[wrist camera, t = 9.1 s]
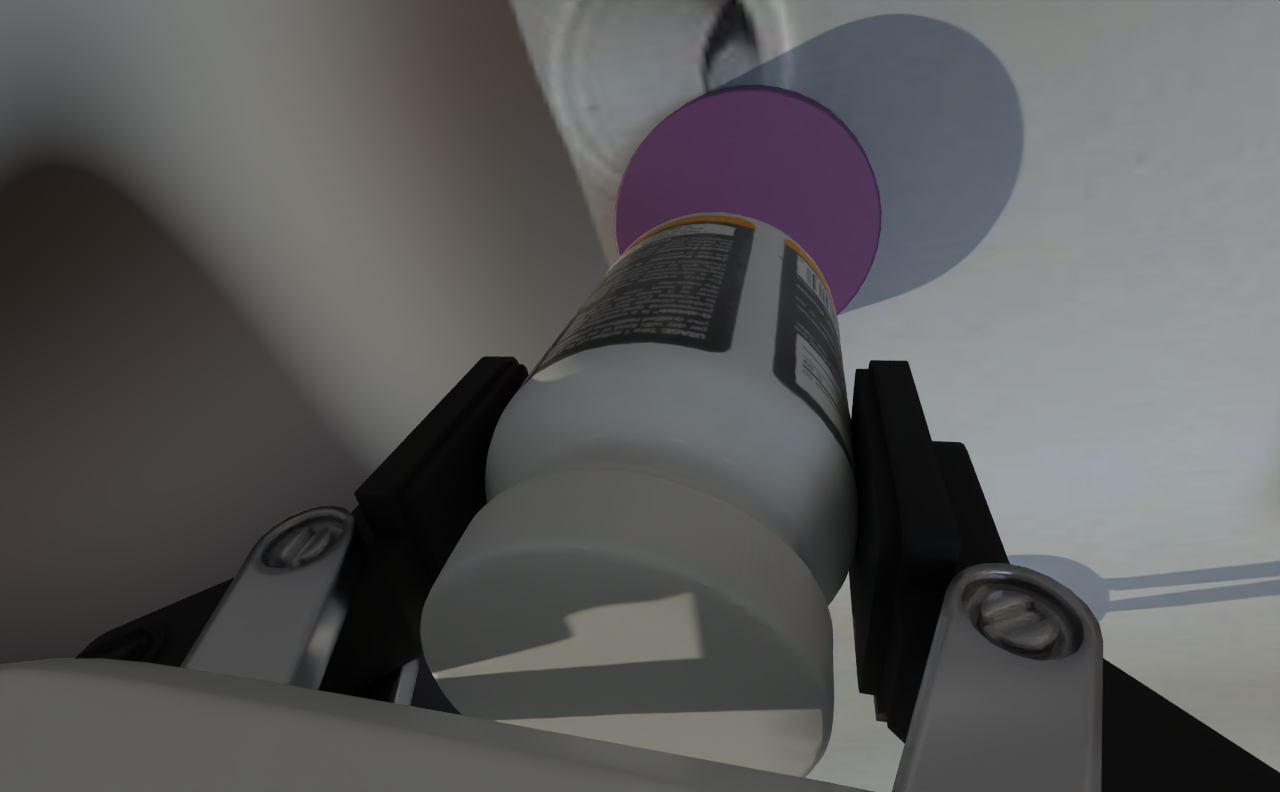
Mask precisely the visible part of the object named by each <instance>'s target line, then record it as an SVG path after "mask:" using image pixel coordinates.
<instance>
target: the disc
mask: <svg viewBox="0 0 1280 792" xmlns="http://www.w3.org/2000/svg"><path fill="white" fill-rule="evenodd" d="M711 212H725V213H731V214H738V215H742V216H746V217H750V218H754V219H757V220H759V221H762V222H765V223H767V224H769V225H771V226H773V227H775V228H777V229H779V230H780V231H782V232H784V233H785V234H786V235H788V236H789V237H790V238H791V239H792V240H794V241H795V242H796V243H797V244H799V245H800V246H801V247H802V249H803V250H804V251H805V252H806V253H807V254H808V255H809V256H810V257H811V258H812V259H813V261H814V262H815V263H816V265H817V266H818V268H819V269H820V271H821V272H822V274H823V276H824V278H825V280H826V282H827V285H828V287H829V289H830V292H831V295H832V298H833V302H834V305H835V308H836V314H837V315H838V314H839V313H840V312H841V311H842V310H843V309H844V308H845V307H846V306H847V305H848V303H849V302H850V301H851V300H852V299H853V297H854V296H855V295H856V293H857V292H858V290H859V289H860V287H861V285H862V284H863V282H864V281H865V279H866V277H867V275H868V272H869V270H870V268H871V266H872V264H873V261H874V257H875V254H876V251H877V248H878V243H879V237H880V231H881V204H880V195H879V190H878V186H877V182H876V179H875V175H874V172H873V170H872V168H871V165H870V163H869V161H868V158H867V156H866V154H865V152H864V150H863V148H862V147H861V145H860V144H859V142H858V140H857V139H856V137H855V136H854V134H853V133H852V132H851V131H850V130H849V128H848V127H847V126H846V125H845V124H844V123H843V121H841V120H840V119H839V118H838V117H837V116H836V115H834V114H833V113H832V112H831V111H830V110H829V109H827V108H825V107H824V106H822V105H821V104H819V103H818V102H816V101H814V100H813V99H810V98H808V97H806V96H804V95H801V94H799V93H797V92H794V91H790V90H786V89H783V88H779V87H772V86H763V85H745V86H735V87H730V88H724V89H720V90H717V91H714V92H711V93H708V94H705V95H703V96H700V97H698V98H696V99H694V100H692V101H690V102H688V103H687V104H685V105H684V106H682V107H681V108H679V109H678V110H676V111H675V112H673V113H672V114H670V115H669V116H668V117H666V118H665V119H664V120H663V121H662V122H661V123H660V124H659V125H657V126H656V127H655V128H654V129H653V130H652V131H651V132H650V134H649V135H648V136H647V137H646V138H645V139H644V141H643V142H642V143H641V144H640V146H639V147H638V149H637V150H636V152H635V153H634V155H633V157H632V158H631V160H630V162H629V164H628V166H627V168H626V171H625V173H624V175H623V178H622V181H621V184H620V187H619V190H618V195H617V201H616V206H615V220H614V227H615V241H616V246H617V251H618V256H619V257H620V256H621V255H622V254H623V253H624V251H625V250H626V249H627V248H628V247H629V246H630V245H631V244H632V243H633V242H635V241H636V240H637V239H638V238H639V237H641V236H642V235H644V234H645V233H647V232H648V231H650V230H651V229H653V228H654V227H656V226H658V225H660V224H662V223H665V222H667V221H669V220H671V219H674V218H678V217H681V216H686V215H690V214H696V213H711Z"/></svg>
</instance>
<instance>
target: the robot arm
mask: <svg viewBox="0 0 1280 792" xmlns="http://www.w3.org/2000/svg"><path fill="white" fill-rule="evenodd" d="M528 376H529V375H528V371H527V368H526V367H525V366H524V365H523V364H519V363H518V361H517V360H516V359H515V358H514V357H483V358H481V359H480V360H479V361H478V362H477V364H475V366H474V367H473V368H472V369H471V370H470V371H469V372H468V373H467V374H466V375H465V376H464V377H463V378H462V379H461V380H460V381H459V382H458V384H457V385H456V386H455V387H454V388H453V389H452V390H451V391H450V392H449V393H448V394H447V395H446V396H445V397H444V398H443V399H442V400H441V402H440V403H439V404H438V405H437V406H436V407H435V408H434V409H433V410H432V411H431V412H430V413H429V414H428V415H427V416H426V417H425V419H424V420H423V421H422V422H421V423H420V424H419V425H418V426H417V427H416V428H415V429H414V430H413V431H412V432H411V433H410V434H409V435H408V436H407V437H406V439H405V440H404V441H403V442H402V443H401V444H400V445H399V446H398V447H397V448H396V449H395V451H393V452H392V454H391V455H389V457H388V458H387V459H386V460H385V461H384V462H383V463H382V464H381V465H380V466H379V467H378V468H377V469H376V470H375V472H374V473H372V475H371V476H370V477H369V478H368V479H367V480H366V481H365V482H364V483H363V484H362V485H361V486H360V487H359V488H358V489H357V490H356V491H355V493H354V494H355V496H356V499H357V501H358V503H359V505H358V506H357V507H356V508H355V509H354V510H353V512H352V513H350V512H349V511H348V510H346V509H345V508H342V507H337V506H321V507H317V508H312V509H309V510H305V511H302V512H300V513H298V514H295V515H293V516H290V517H288V518H286V519H285V520H283V521H281V522H280V523H278V524H276V525H275V526H273V527H272V528H271V529H270V530H269V531H268V532H266V533H265V534H264V535H263V536H262V537H261V538H260V539H259V540H258V542H257V543H256V544H255V545H254V547H253V548H252V550H251V551H250V553H249V555H248V556H247V558H246V560H245V561H244V563H243V564H242V566H241V568H240V570H239V571H238V573H237V574H236V576H235V578H232V579H230V580H227V581H226V582H223V583H220V584H218V585H216V586H213V587H211V588H209V589H206V590H204V591H202V592H199V593H197V594H195V595H192V596H190V597H187V598H185V599H183V600H180V601H178V602H176V603H173V604H171V605H169V606H166V607H164V608H162V609H159V610H157V611H155V612H152V613H150V614H147V615H145V616H143V617H140V618H138V619H136V620H133V621H131V622H129V623H126V624H124V625H122V626H121V627H117V628H115V629H112V630H110V631H108V632H106V633H104V634H103V635H101V636H99V637H98V638H97V639H95V640H94V641H93V642H91V643H90V644H89V645H88V646H87V647H86V648H85V649H84V650H83V651H82V652H81V653H80V654H79V655H78V656H77V657H76V658H74V659H48V660H38V661H30V662H29V661H28V662H19V663H10V664H1V665H0V792H873V791H868V790H863V789H858V788H853V787H848V786H843V785H838V784H834V783H829V782H823V781H818V780H813V779H807V778H802V777H796V776H791V775H785V774H780V773H775V772H769V771H764V770H758V769H753V768H748V767H742V766H737V765H731V764H726V763H721V762H715V761H710V760H704V759H699V758H693V757H688V756H683V755H677V754H672V753H666V752H661V751H656V750H650V749H645V748H639V747H634V746H629V745H623V744H618V743H612V742H607V741H601V740H596V739H590V738H585V737H579V736H574V735H568V734H562V733H557V732H551V731H546V730H540V729H535V728H529V727H524V726H518V725H512V724H507V723H501V722H496V721H490V720H485V719H479V718H473V717H468V716H462V715H457V714H451V713H445V712H439V711H434V710H429V709H423V708H417V707H412V706H410V703H411V699H412V694H413V690H414V685H415V681H416V676H417V672H418V667H419V657H420V656H422V655H423V653H424V652H423V647H422V643H421V634H420V628H421V617H422V612H423V607H424V604H425V602H426V599H427V597H428V595H429V592H430V590H431V588H432V586H433V585H434V583H435V581H436V579H437V578H438V576H439V574H440V573H441V571H442V569H443V567H444V566H445V564H446V562H447V560H448V559H449V557H450V555H451V554H452V552H453V550H454V549H455V547H456V545H457V544H458V542H459V540H460V539H461V537H462V535H463V534H464V532H465V530H466V529H467V527H468V525H469V524H470V522H471V521H472V519H473V518H474V517H475V515H476V514H477V513H478V512H479V511H480V510H481V509H482V508H483V507H484V506H485V505H486V504H487V502H486V492H485V470H486V462H487V456H488V450H489V446H490V443H491V440H492V437H493V434H494V431H495V428H496V426H497V423H498V421H499V419H500V417H501V415H502V413H503V411H504V409H505V408H506V406H507V405H508V403H509V402H510V400H511V399H512V398H513V396H514V395H515V394H516V393H517V391H518V390H519V388H520V387H521V385H522V384H523V382H524V381H525V380H526V379H527V377H528ZM851 429H852V440H853V453H854V463H855V470H856V482H857V488H858V496H859V503H860V511H859V530H858V539H857V544H856V549H855V553H854V557H853V561H852V564H851V566H850V569H849V578H850V590H851V603H852V615H853V628H854V640H855V653H856V665H857V677H858V688H859V692H860V693H863V694H870V695H874V704H875V714H876V721H882V722H887V725H888V728H889V729H890V730H891V731H892V732H893V733H894V734H895V735H896V736H897V737H898V738H899V739H900V740H901V741H902V742H904V743H905V746H904V749H903V753H902V757H901V760H900V764H899V768H898V771H897V775H896V779H895V783H894V786H893V790H892V792H1280V773H1279V772H1278V771H1276V770H1275V769H1273V768H1272V767H1270V766H1268V765H1267V764H1265V763H1264V762H1262V761H1261V760H1259V759H1258V758H1256V757H1255V756H1253V755H1252V754H1250V753H1248V752H1247V751H1245V750H1244V749H1242V748H1241V747H1239V746H1238V745H1236V744H1235V743H1233V742H1231V741H1230V740H1228V739H1227V738H1225V737H1224V736H1222V735H1221V734H1219V733H1218V732H1216V731H1215V730H1213V729H1211V728H1210V727H1208V726H1207V725H1205V724H1204V723H1202V722H1201V721H1199V720H1198V719H1196V718H1195V717H1193V716H1191V715H1190V714H1188V713H1187V712H1185V711H1184V710H1182V709H1181V708H1179V707H1178V706H1176V705H1174V704H1173V703H1171V702H1170V701H1168V700H1167V699H1165V698H1164V697H1162V696H1161V695H1159V694H1158V693H1156V692H1154V691H1153V690H1151V689H1150V688H1148V687H1147V686H1145V685H1144V684H1142V683H1141V682H1139V681H1137V680H1136V679H1134V678H1133V677H1131V676H1130V675H1128V674H1127V673H1125V672H1124V671H1122V670H1121V669H1119V668H1117V667H1116V666H1114V665H1113V664H1111V663H1110V662H1108V661H1107V660H1105V659H1104V658H1103V639H1102V634H1101V630H1100V625H1099V623H1098V621H1097V620H1096V618H1095V616H1094V615H1093V613H1092V612H1091V610H1090V609H1089V607H1088V606H1087V605H1086V604H1085V603H1084V602H1083V601H1082V600H1081V599H1080V598H1079V597H1078V596H1077V595H1075V594H1074V593H1073V592H1072V591H1071V590H1070V589H1068V588H1067V587H1065V586H1063V585H1062V584H1060V583H1059V582H1057V581H1055V580H1054V579H1052V578H1051V577H1049V576H1046V575H1044V574H1041V573H1039V572H1036V571H1034V570H1031V569H1029V568H1025V567H1020V566H1015V565H1011V564H1010V563H1009V561H1008V558H1007V555H1006V553H1005V550H1004V547H1003V545H1002V542H1001V539H1000V537H999V534H998V531H997V529H996V526H995V523H994V521H993V518H992V515H991V513H990V510H989V507H988V505H987V502H986V499H985V497H984V494H983V491H982V489H981V486H980V483H979V481H978V478H977V475H976V473H975V470H974V467H973V465H972V462H971V459H970V457H969V454H968V451H967V449H966V447H965V446H964V444H962V443H961V442H941V441H932V440H931V436H930V433H929V430H928V426H927V423H926V420H925V416H924V413H923V410H922V406H921V403H920V400H919V396H918V393H917V390H916V386H915V383H914V380H913V376H912V373H911V370H910V367H909V363H908V361H879V360H871V361H870V363H869V368H868V369H856V373H855V382H854V394H853V405H852V417H851Z"/></svg>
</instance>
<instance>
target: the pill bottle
mask: <svg viewBox="0 0 1280 792" xmlns="http://www.w3.org/2000/svg"><path fill="white" fill-rule="evenodd" d="M485 492H486V502H487V504H486V505H485V506H484V507H483V508H482V509H481V510H480V511H479V512H478V513H477V514H476V515H475V517H474V518H473V519H472V521H471V522H470V524H469V525H468V527H467V529H466V530H465V532H464V534H463V535H462V537H461V539H460V540H459V542H458V544H457V545H456V547H455V549H454V550H453V552H452V554H451V555H450V557H449V559H448V560H447V562H446V564H445V566H444V567H443V569H442V571H441V573H440V574H439V576H438V578H437V579H436V581H435V583H434V585H433V586H432V588H431V590H430V592H429V595H428V597H427V599H426V602H425V604H424V607H423V612H422V617H421V628H420V634H421V643H422V647H423V652H424V655H425V659H426V662H427V664H428V666H429V668H430V670H431V672H432V674H433V675H434V677H435V679H436V681H437V683H438V684H439V686H440V688H441V689H442V691H443V693H444V694H445V696H446V697H447V698H448V700H449V701H450V702H451V703H452V704H453V705H454V707H455V708H456V709H457V710H458V711H459V712H460V713H461V714H462V715H463V716H468V717H473V718H479V719H485V720H490V721H496V722H501V723H507V724H512V725H518V726H524V727H529V728H535V729H540V730H546V731H551V732H557V733H562V734H568V735H574V736H579V737H585V738H590V739H596V740H601V741H607V742H612V743H618V744H623V745H629V746H634V747H639V748H645V749H650V750H656V751H661V752H666V753H672V754H677V755H683V756H688V757H693V758H699V759H704V760H710V761H715V762H721V763H726V764H731V765H737V766H742V767H748V768H753V769H758V770H764V771H769V772H775V773H780V774H785V775H791V776H796V777H802V778H805V777H806V776H807V775H808V774H809V773H810V772H811V770H812V769H813V768H814V767H815V765H816V764H817V763H818V762H819V760H820V759H821V757H822V756H823V754H824V752H825V750H826V748H827V745H828V742H829V740H830V735H831V730H832V723H833V711H834V677H833V628H832V621H831V617H830V613H829V609H828V605H829V604H830V603H831V602H832V600H833V599H834V597H835V596H836V594H837V593H838V591H839V589H840V588H841V586H842V585H843V583H844V581H845V579H846V576H847V574H848V571H849V569H850V566H851V564H852V561H853V557H854V553H855V549H856V544H857V539H858V530H859V511H860V503H859V496H858V488H857V482H856V470H855V463H854V453H853V440H852V429H851V418H850V414H849V408H848V400H847V392H846V384H845V376H844V370H843V362H842V352H841V344H840V334H839V324H838V320H837V314H836V308H835V305H834V302H833V298H832V295H831V292H830V289H829V287H828V285H827V282H826V280H825V278H824V276H823V274H822V272H821V271H820V269H819V268H818V266H817V265H816V263H815V262H814V261H813V259H812V258H811V257H810V256H809V255H808V254H807V253H806V252H805V251H804V250H803V249H802V247H801V246H800V245H799V244H797V243H796V242H795V241H794V240H792V239H791V238H790V237H789V236H788V235H786V234H785V233H784V232H782V231H780V230H779V229H777V228H775V227H773V226H771V225H769V224H767V223H765V222H762V221H759V220H757V219H754V218H750V217H746V216H742V215H738V214H731V213H725V212H711V213H696V214H690V215H686V216H681V217H678V218H674V219H671V220H669V221H667V222H665V223H662V224H660V225H658V226H656V227H654V228H653V229H651V230H650V231H648V232H647V233H645V234H644V235H642V236H641V237H639V238H638V239H637V240H636V241H635V242H633V243H632V244H631V245H630V246H629V247H628V248H627V249H626V250H625V251H624V253H623V254H622V255H621V256H620V257H619V258H618V259H617V260H616V261H615V262H614V263H613V264H612V265H611V266H610V268H609V270H608V271H607V273H606V275H605V276H604V278H603V279H602V280H601V281H600V283H599V284H598V285H597V287H596V288H595V289H594V291H593V292H592V293H591V295H590V296H589V297H588V298H587V300H586V301H585V302H584V304H583V305H582V306H581V308H580V309H579V311H578V312H577V313H576V314H575V315H574V316H573V318H572V319H571V320H570V321H569V322H568V324H567V325H566V327H565V328H564V330H563V331H562V332H561V334H560V335H559V336H558V338H557V339H556V340H555V342H554V343H553V344H552V346H551V347H550V348H549V350H548V351H547V352H546V354H545V355H544V356H543V357H542V359H541V360H540V361H539V363H538V364H537V365H536V367H535V368H534V370H533V371H532V372H531V373H530V375H529V376H528V377H527V379H526V380H525V381H524V382H523V384H522V385H521V387H520V388H519V390H518V391H517V393H516V394H515V395H514V396H513V398H512V399H511V400H510V402H509V403H508V405H507V406H506V408H505V409H504V411H503V413H502V415H501V417H500V419H499V421H498V423H497V426H496V428H495V431H494V434H493V437H492V440H491V443H490V446H489V450H488V456H487V462H486V470H485Z"/></svg>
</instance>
